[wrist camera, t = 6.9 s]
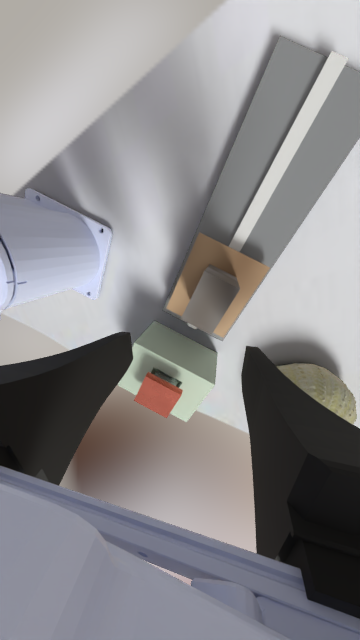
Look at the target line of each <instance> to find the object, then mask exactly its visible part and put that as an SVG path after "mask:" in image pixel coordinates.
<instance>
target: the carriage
mask: <svg viewBox="0 0 360 640" xmlns="http://www.w3.org/2000/svg"><path fill="white" fill-rule="evenodd" d="M269 269H270V267H268V266H266V265H264V264H262V263H260V262H258V261H256V260H254V259H252V258H250V257H248V256H246V255H244V254H242V253H240V252H238V251H236V250H234V249H232V248H230V247H228V246H226V245H224V244H222V243H220V242H218V241H216V240H214V239H212V238H210V237H208V236H206V235H204V234H202V233H200V232H199V234H198V237H197V239H196V241H195V243H194V246H193V248H192V250H191V253H190V255H189V257H188V259H187V262H186V264H185V266H184V269H183V271H182V273H181V275H180V278H179V280H178V282H177V285H176V287H175V289H174V292H173V294H172V296H171V298H170V301H169V303H168V305H167V308H166V309H168V310H170V311H172V312H174V313H176V314H178V315H180V316H182V317H181V319H182V320H184V321H186V322H188V323H190V324H191V325H193V326H195V327H197V328H199V329H201V330H203V331H205V332H207V333H209V334H211V335H212V333H215V334H217V335H219V336H221V337H223V338H224V336H225V335H226V333H227V332H228V330H229V329H230V327H231V326H232V324H233V323H234V321H235V320H236V318H237V317H238V315H239V314H240V312H241V311H242V309H243V308H244V306H245V305H246V303H247V302H248V300H249V299H250V297H251V296H252V294H253V293H254V291H255V290H256V288H257V287H258V285H259V284H260V282H261V281H262V279H263V278H264V276H265V275H266V273H267V272H268V270H269Z"/></svg>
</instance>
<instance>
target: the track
mask: <svg viewBox="0 0 360 640" xmlns="http://www.w3.org/2000/svg"><path fill="white" fill-rule="evenodd" d="M348 59H349V58H347V57H344V56H342V55H340V54H338V53H336V52H333V51H331V53H330V55H329V57H326V56H324V55H321V54H319V53H317V52H315V51H312V50H310V49H308V48H306V47H304V46H301V45H299V44H297V43H295V42H293V41H290V40H288V39H286V38H284V37H282V36H280V37H279V39H278V42H277V44H276V46H275V49H274V51H273V53H272V56H271V58H270V60H269V63H268V65H267V67H266V70H265V72H264V74H263V77H262V79H261V81H260V84H259V86H258V88H257V91H256V93H255V95H254V98H253V100H252V102H251V105H250V107H249V109H248V112H247V114H246V116H245V119H244V121H243V123H242V126H241V128H240V130H239V133H238V135H237V137H236V140H235V142H234V144H233V147H232V149H231V151H230V154H229V156H228V158H227V161H226V163H225V165H224V168H223V170H222V172H221V175H220V177H219V179H218V182H217V184H216V186H215V189H214V191H213V193H212V196H211V198H210V200H209V203H208V205H207V207H206V210H205V212H204V214H203V217H202V219H201V221H200V224H199V226H198V228H197V231H196V233H195V235H194V238H193V240H192V242H191V245H190V247H189V249H188V252H187V254H186V256H185V259H184V261H183V263H182V266H181V268H180V270H179V273H178V275H177V277H176V280H175V282H174V284H173V287H172V289H171V291H170V294H169V296H168V298H167V301H166V303H165V305H164V308H163V310H162V311H164V312H166V313H168V314H170V315H172V316H174V317H176V318H178V319H180V320H182V319H181V317H182V316H180V315H178V314H176V313H174V312H172V311H170V310H168V309H166V308H167V305H168V303H169V301H170V298H171V296H172V294H173V292H174V289H175V287H176V285H177V282H178V280H179V278H180V275H181V273H182V271H183V269H184V266H185V264H186V262H187V259H188V257H189V255H190V253H191V250H192V248H193V246H194V243H195V241H196V239H197V237H198V234H199V232H200V233H202V234H204V235H206V236H208V237H210V238H212V239H214V240H216V241H218V242H220V243H222V244H224V245H226V246H228V247H230V248H232V249H234V250H236V251H238V252H240V253H242V254H244V255H246V256H248V257H250V258H252V259H254V260H256V261H258V262H260V263H262V264H264V265H266V266H268V267H270V269H269V270H268V272H267V273H266V275H265V276H264V278H263V279H262V281H261V282H260V284H259V285H258V287H257V288H256V290H255V291H254V293H253V294H252V296H251V297H250V299H249V300H248V302H249V301H250V300H251V298H252V297H253V295H254V294H255V292H256V291H257V289H258V288H259V286H260V285H261V283H262V282H263V280H264V279H265V277H266V276H267V274H268V273H269V271H270V270H271V268H272V267H273V265H274V264H275V262H276V261H277V259H278V258H279V256H280V255H281V254H282V252H283V251H284V249H285V248H286V246H287V245H288V243H289V242H290V240H291V239H292V237H293V236H294V234H295V233H296V231H297V230H298V228H299V227H300V225H301V224H302V222H303V221H304V219H305V218H306V216H307V215H308V213H309V212H310V211H311V209H312V208H313V206H314V205H315V203H316V202H317V200H318V199H319V197H320V196H321V194H322V193H323V191H324V190H325V188H326V187H327V185H328V184H329V182H330V181H331V179H332V178H333V176H334V175H335V173H336V172H337V170H338V169H339V167H340V166H341V165H342V163H343V162H344V160H345V159H346V157H347V156H348V154H349V153H350V151H351V150H352V148H353V147H354V145H355V144H356V142H357V141H358V139H359V138H360V72H359V71H357V70H354V69H352V68H350V67H348V66H346V65H345V64H346V62H347V60H348ZM248 302H247V303H246V305H247V304H248ZM246 305H245V306H244V308H245V307H246ZM244 308H243V309H242V311H243V310H244ZM242 311H241V312H240V314H241V313H242ZM240 314H239V315H238V317H239V316H240ZM238 317H237V318H236V320H237V319H238ZM236 320H235V321H234V323H235V322H236ZM182 321H184V320H182ZM184 322H186V321H184ZM186 323H188V322H186ZM234 323H233V324H232V326H233V325H234ZM187 325H188V326H190V327H192V328H193V329H195V330H196V329H199V328H197V327H195V326H193V325H191V324H190V323H188V324H187ZM232 326H231V327H230V329H231V328H232ZM230 329H229V330H228V332H229V331H230ZM199 330H201V329H199ZM201 331H203V330H201ZM203 332H205V331H203ZM228 332H227V333H226V335H227V334H228ZM205 333H207V332H205ZM207 334H209V333H207ZM209 335H211V334H209ZM226 335H225V336H224V338H225V337H226ZM211 336H213V337H215V338H217V339H219V340H221V341H223V340H224V338H223V337H221V336H219V335H217V334H215V333H212V335H211Z"/></svg>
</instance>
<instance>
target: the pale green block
mask: <svg viewBox="0 0 360 640" xmlns="http://www.w3.org/2000/svg"><path fill="white" fill-rule="evenodd" d="M132 352H133V361H132V363H131V365H130V366H129V368H128V370H127V372H126V373H125V375H124V376H123V377H122V379H121V380H120V381H119V384H118V386H120V387H122V388H124V389H125V390H127V391H129V392H131V393H133V394H135V395H137V393H138V391H139V389H140V387H141V385H142V382H143V380H144V378H145V376H146V374H147V373H148V372H150V373H152V374H153V375H155V373H156V371H157V369H158V370H160V371H162V372H164V373H166V374H168V375H169V376H171V377H173V378H175V379H177V380H178V382H177V385H176V387H178V388H180V389H182V390H183V392H182V395H181V397H180V398H179V400H178V401H177V403H176V405H175V406H174V408H173V409H172V411H171V412H170V414H172V415H174V416H176V417H178V418H180V419H181V420H183V421H185V422H187V421H188V420H189V418H190V417H191V415H192V414H193V413H194V412H195V410H196V409H197V408H198V406H199V405H200V404H201V402H202V401H203V400H204V398H205V397H206V396H207V395H208V393H209V392H210V391H211V389H212V388H213V387H214V385H215V377H216V365H217V353H216V352H214V351H212V350H210V349H208V348H206V347H204V346H203V345H201V344H199V343H197V342H195V341H193V340H191V339H189V338H187V337H185V336H183V335H181V334H179V333H177V332H176V331H174V330H172V329H170V328H168V327H166V326H164V325H162V324H160V323H158V322H156V321H154V322H153V323H152V324H151V325H150V326H149V327H148V328H147V329H146V330H145V331H144V332H143V334H142V335H141V336H140V337H139V338H138V339H137V340H136V341H135V342H134V345H133V347H132Z"/></svg>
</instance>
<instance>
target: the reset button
mask: <svg viewBox="0 0 360 640" xmlns="http://www.w3.org/2000/svg"><path fill="white" fill-rule="evenodd" d="M177 382H178V380H177V379H175V378H173V377H171V376H169V375H168V374H166V373H164V372H162V371H160V370H158V369H157V371H156V373H155V375H153V374H152V373H150V372H148V373H147V374H146V376H145V378H144V380H143V382H142V385H141V387H140V389H139V391H138V393H137V395H136V398H135V399H134V401H136V402H137V403H139V404H141V405H143V406H145V407H147V408H149V409H150V410H153V411H154V412H156V413H158V414H160V415H162V416H164V417H166V418H167V417H168V415H169V414H170V412H171V411H172V409H173V408H174V406H175V405H176V403H177V401H178V400H179V398H180V397H181V395H182V392H183V390H182V389H180V388H178V387H176V385H177Z"/></svg>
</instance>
